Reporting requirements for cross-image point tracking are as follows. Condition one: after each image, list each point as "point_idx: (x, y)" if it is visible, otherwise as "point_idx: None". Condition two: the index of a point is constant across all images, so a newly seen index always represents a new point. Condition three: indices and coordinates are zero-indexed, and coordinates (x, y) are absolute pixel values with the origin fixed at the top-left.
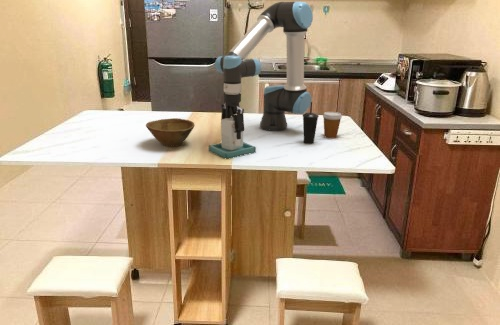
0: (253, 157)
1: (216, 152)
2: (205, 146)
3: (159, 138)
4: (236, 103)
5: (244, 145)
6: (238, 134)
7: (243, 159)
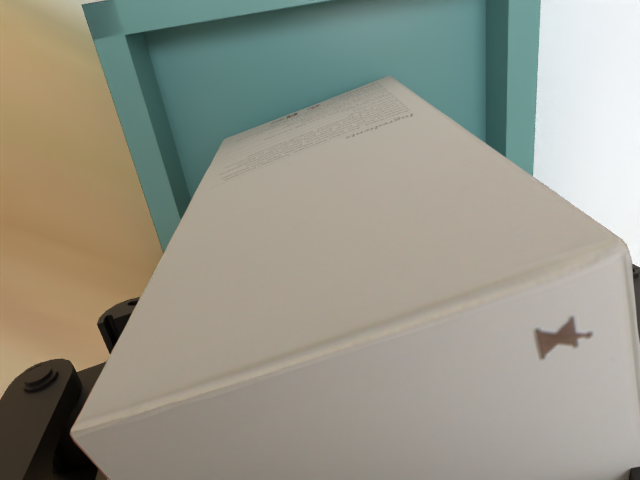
0: (627, 67)
1: None
2: (73, 344)
3: None
4: None
5: (311, 3)
6: None
7: (601, 192)
